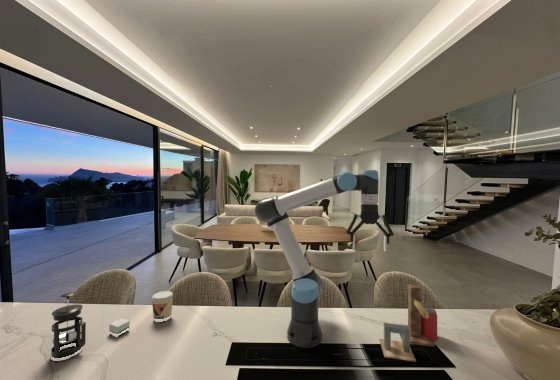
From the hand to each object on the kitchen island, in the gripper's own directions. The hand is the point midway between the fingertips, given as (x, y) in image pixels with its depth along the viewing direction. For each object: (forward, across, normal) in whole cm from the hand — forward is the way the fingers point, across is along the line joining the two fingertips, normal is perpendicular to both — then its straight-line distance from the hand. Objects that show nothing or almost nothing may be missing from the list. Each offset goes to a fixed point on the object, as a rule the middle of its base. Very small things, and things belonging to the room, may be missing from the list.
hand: (369, 250), depth 111 cm
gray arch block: (+36, +9, -12) cm, 39 cm away
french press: (+37, -115, -44) cm, 129 cm away
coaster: (+37, +9, -12) cm, 40 cm away
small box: (+37, -108, -28) cm, 118 cm away
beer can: (+37, +25, +1) cm, 45 cm away
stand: (+37, +19, -4) cm, 42 cm away
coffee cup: (+37, -98, -14) cm, 105 cm away
